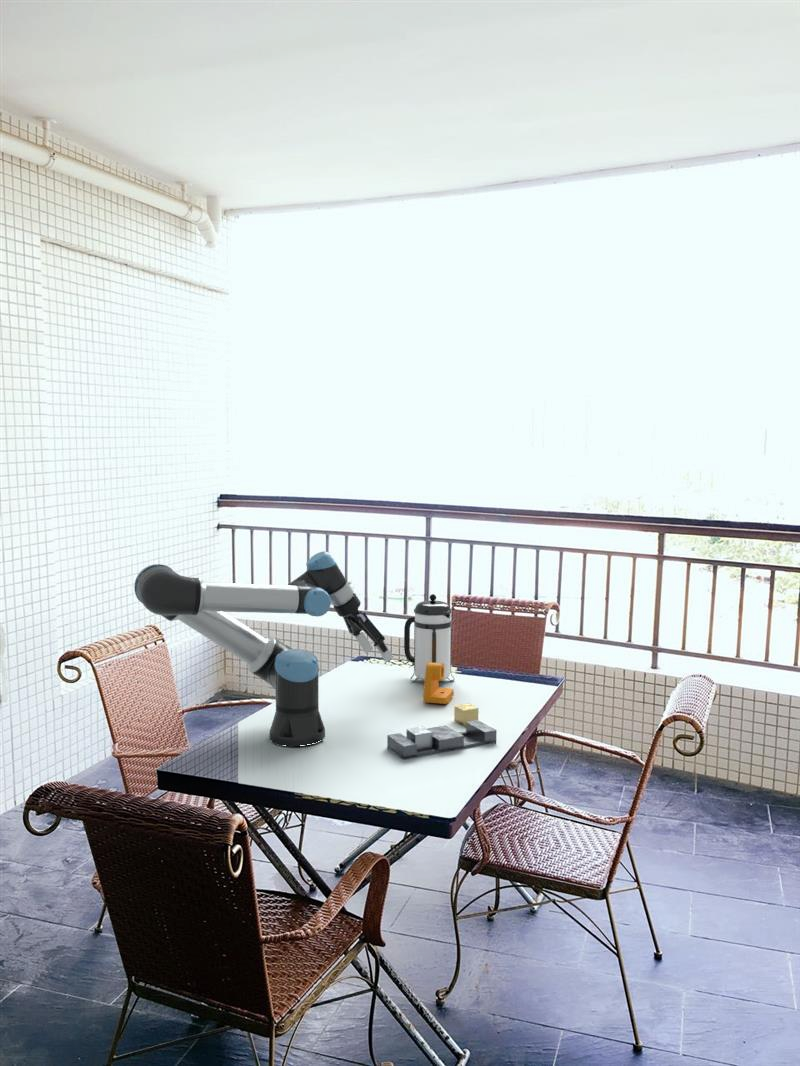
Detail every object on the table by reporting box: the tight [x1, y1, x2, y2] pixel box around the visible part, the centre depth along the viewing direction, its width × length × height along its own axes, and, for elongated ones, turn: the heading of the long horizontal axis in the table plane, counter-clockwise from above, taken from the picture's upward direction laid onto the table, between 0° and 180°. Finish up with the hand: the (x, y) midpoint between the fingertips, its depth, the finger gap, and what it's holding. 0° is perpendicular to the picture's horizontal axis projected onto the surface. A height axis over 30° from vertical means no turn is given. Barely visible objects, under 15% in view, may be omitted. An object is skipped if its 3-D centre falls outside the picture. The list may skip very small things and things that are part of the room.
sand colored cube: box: [453, 703, 479, 728], centre depth 249 cm, size 5×5×5 cm
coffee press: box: [403, 593, 455, 682], centre depth 292 cm, size 17×16×30 cm
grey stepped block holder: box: [386, 719, 498, 760], centre depth 230 cm, size 28×10×4 cm, turn 117°
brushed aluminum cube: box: [405, 726, 432, 752], centre depth 226 cm, size 5×5×5 cm
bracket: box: [422, 662, 455, 705], centre depth 271 cm, size 11×7×12 cm, turn 162°
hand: (379, 655), depth 259 cm, fingers open, 13 cm apart
